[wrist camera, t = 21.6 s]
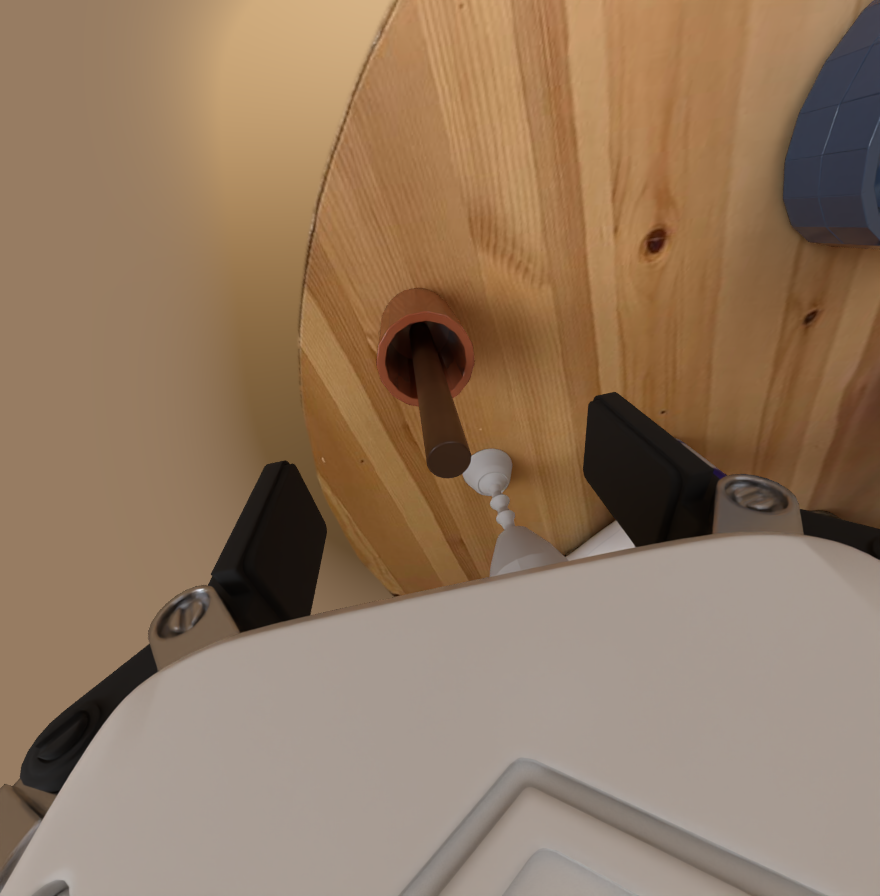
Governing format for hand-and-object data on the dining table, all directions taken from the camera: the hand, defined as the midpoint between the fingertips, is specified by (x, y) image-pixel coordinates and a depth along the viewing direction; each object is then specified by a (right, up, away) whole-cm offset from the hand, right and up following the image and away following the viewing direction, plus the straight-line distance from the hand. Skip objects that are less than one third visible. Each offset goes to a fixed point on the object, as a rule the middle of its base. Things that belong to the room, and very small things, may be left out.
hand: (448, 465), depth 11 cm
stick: (-2, +9, +15) cm, 18 cm away
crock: (-2, +10, +16) cm, 19 cm away
